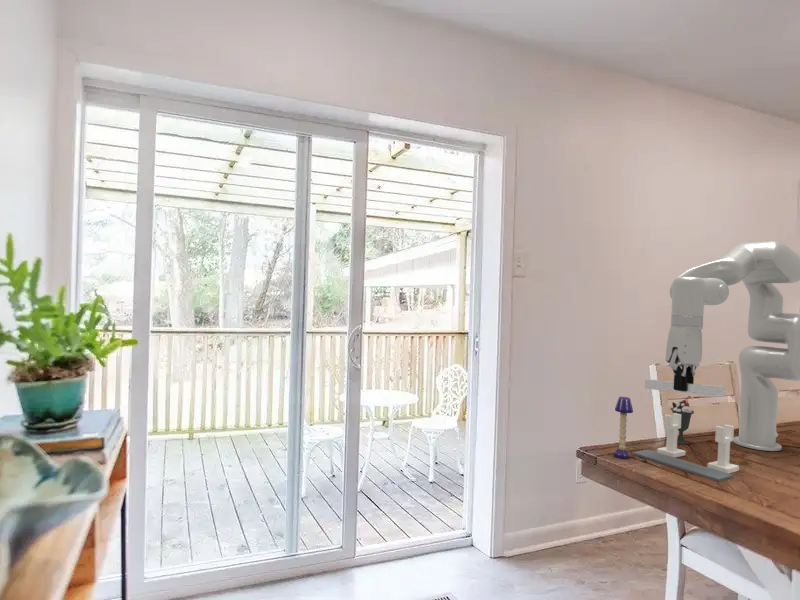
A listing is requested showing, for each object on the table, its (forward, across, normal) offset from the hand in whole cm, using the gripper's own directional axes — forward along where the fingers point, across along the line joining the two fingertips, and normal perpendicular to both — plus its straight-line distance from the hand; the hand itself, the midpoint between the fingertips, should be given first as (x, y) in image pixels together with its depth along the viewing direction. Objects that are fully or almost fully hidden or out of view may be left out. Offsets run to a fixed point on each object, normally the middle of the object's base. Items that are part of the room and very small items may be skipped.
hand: (683, 389), depth 134 cm
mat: (+20, 0, 0) cm, 20 cm away
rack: (+20, -8, 0) cm, 22 cm away
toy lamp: (+21, +8, -12) cm, 25 cm away
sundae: (+21, -24, -13) cm, 34 cm away
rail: (-1, 0, 0) cm, 1 cm away
